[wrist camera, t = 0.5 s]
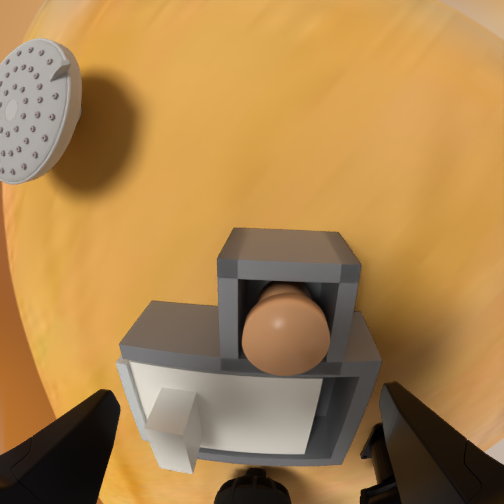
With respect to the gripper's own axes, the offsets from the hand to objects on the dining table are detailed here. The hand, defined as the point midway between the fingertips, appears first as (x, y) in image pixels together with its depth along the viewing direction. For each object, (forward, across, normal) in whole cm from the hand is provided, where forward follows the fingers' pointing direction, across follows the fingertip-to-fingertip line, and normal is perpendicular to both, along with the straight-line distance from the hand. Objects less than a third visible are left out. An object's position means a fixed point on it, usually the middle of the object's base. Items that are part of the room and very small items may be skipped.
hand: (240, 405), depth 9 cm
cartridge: (+12, +3, +10) cm, 16 cm away
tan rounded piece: (+9, -2, +2) cm, 10 cm away
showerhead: (+14, +13, -12) cm, 23 cm away
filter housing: (+13, +1, +7) cm, 15 cm away
